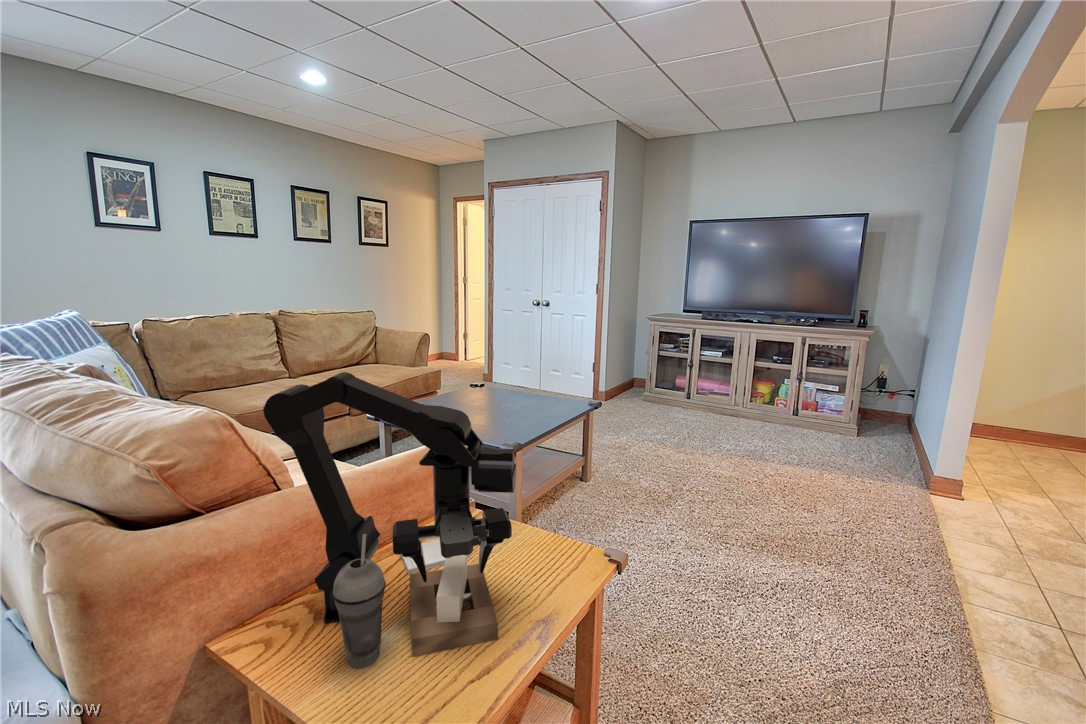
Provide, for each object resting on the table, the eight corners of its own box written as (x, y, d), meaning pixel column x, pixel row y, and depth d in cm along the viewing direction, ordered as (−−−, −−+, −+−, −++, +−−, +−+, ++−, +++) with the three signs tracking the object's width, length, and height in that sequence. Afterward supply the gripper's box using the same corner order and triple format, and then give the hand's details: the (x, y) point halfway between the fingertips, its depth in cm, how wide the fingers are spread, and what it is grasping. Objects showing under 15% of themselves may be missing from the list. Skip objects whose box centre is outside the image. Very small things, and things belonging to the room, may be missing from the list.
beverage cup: (350, 637, 75) (342, 520, 72) (395, 639, 75) (390, 521, 72) (328, 675, 68) (318, 548, 65) (378, 677, 68) (371, 549, 64)
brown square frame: (412, 656, 72) (411, 639, 71) (410, 589, 87) (409, 574, 86) (497, 639, 76) (497, 622, 75) (481, 577, 91) (481, 563, 90)
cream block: (437, 622, 75) (436, 596, 74) (447, 574, 87) (447, 551, 86) (459, 621, 75) (459, 596, 74) (467, 574, 87) (467, 551, 86)
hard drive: (457, 533, 104) (398, 547, 98) (470, 552, 97) (407, 569, 91) (457, 540, 104) (399, 554, 98) (470, 560, 97) (408, 576, 91)
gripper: (390, 521, 67) (395, 620, 70) (519, 505, 72) (519, 597, 75) (391, 487, 78) (395, 574, 80) (504, 475, 83) (504, 557, 86)
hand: (453, 576), depth 80 cm, fingers open, 9 cm apart
